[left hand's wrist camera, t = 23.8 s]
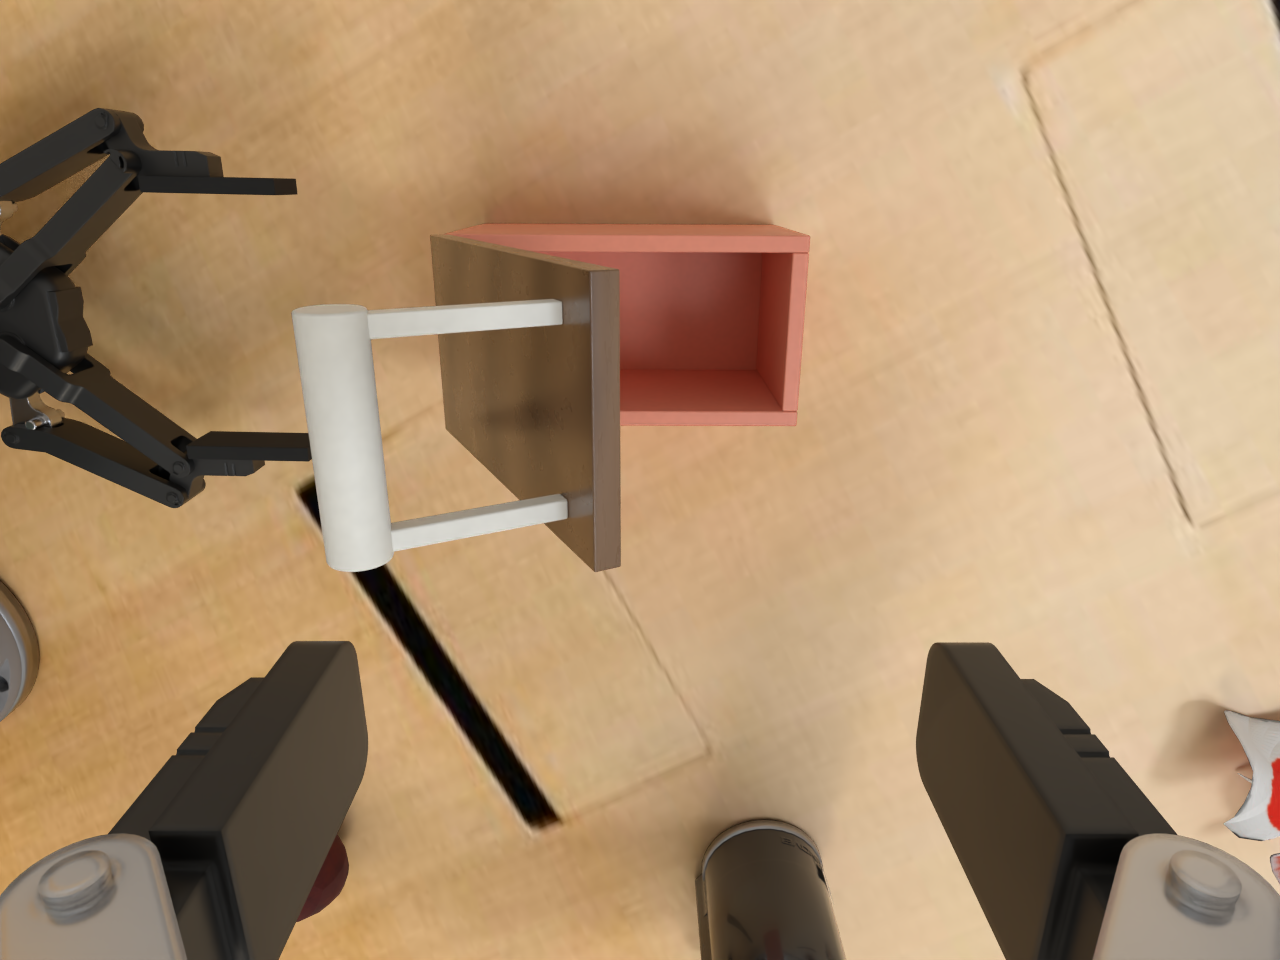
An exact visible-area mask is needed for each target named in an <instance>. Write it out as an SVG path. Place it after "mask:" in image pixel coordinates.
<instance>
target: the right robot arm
mask: <svg viewBox="0 0 1280 960" xmlns="http://www.w3.org/2000/svg"><path fill="white" fill-rule="evenodd" d="M143 131H144V124H143V122H142V120H141V119H140V117H139V116H138V115H136V114H134V113H130V112H125V111H118V110H110V109H102V108H97V109H94V110H92V111H90V112H88V113H87V114H85V115H83V116H82V117H80V118H78V119H76V120H75V121H73V122H71V123H70V124H68V125H66V126H64V127H63V128H61V129H59V130H58V131H56V132H54V133H52V134H51V135H49V136H47V137H46V138H44V139H42V140H40V141H39V142H37V143H35V144H34V145H32V146H30V147H28V148H27V149H25V150H23V151H21V152H20V153H18V154H16V155H15V156H13V157H11V158H9V159H8V160H6V161H4V162H3V163H1V164H0V393H1V394H3V395H5V396H7V397H9V399H10V406H11V414H12V421H13V425H12V426H9V427H7V428H5V429H3V431H2V432H1V438H2V440H3V442H4V443H5V444H6V445H7V446H9V447H11V448H15V449H23V450H31V451H39V452H46V453H48V454H51V455H53V456H55V457H57V458H60V459H62V460H64V461H66V462H69V463H71V464H73V465H76V466H78V467H80V468H82V469H85V470H87V471H89V472H91V473H94V474H96V475H98V476H100V477H103V478H105V479H107V480H110V481H112V482H114V483H116V484H119V485H121V486H123V487H125V488H128V489H130V490H132V491H134V492H137V493H139V494H141V495H144V496H146V497H148V498H150V499H153V500H155V501H157V502H159V503H162V504H164V505H166V506H168V507H172V508H178V507H180V506H182V505H183V504H185V503H186V502H187V501H189V500H190V499H192V498H193V497H195V496H196V495H197V494H199V493H200V492H202V491H203V490H204V488H205V481H204V479H203V478H204V475H215V476H227V475H228V476H247V475H250V474H252V473H254V472H256V471H257V470H258V469H260V468H261V467H262V466H264V465H265V461H264V460H267V461H310V460H311V459H312V455H311V447H310V440H309V433H271V432H220V431H211V432H209V433H207V434H205V435H204V436H202V437H200V438H198V439H196V438H195V437H193V436H192V435H191V434H189V433H188V432H186V431H185V430H184V429H182V428H181V427H180V426H178V425H177V424H175V423H174V422H173V421H171V420H170V419H169V418H167V417H166V416H164V415H163V414H162V413H160V412H159V411H158V410H156V409H155V408H153V407H152V406H151V405H149V404H148V403H146V402H145V401H144V400H142V399H141V398H140V397H138V396H137V395H135V394H134V393H133V392H131V391H130V390H129V389H127V388H126V387H124V386H123V385H122V384H120V383H119V382H118V381H116V380H115V379H113V378H112V377H111V376H110V371H109V369H108V368H106V367H105V366H104V365H102V364H101V363H100V362H98V361H97V360H95V359H94V358H93V357H91V356H90V355H89V354H87V350H88V346H91V345H93V344H92V339H91V335H90V331H89V328H88V326H87V324H86V322H85V320H84V318H83V302H84V301H83V297H82V292H81V287H75V285H74V284H73V282H72V280H71V279H70V278H69V277H68V275H69V274H70V273H71V272H72V271H73V270H74V269H75V268H76V267H77V266H78V265H79V264H80V263H81V261H82V260H83V259H84V258H85V257H86V254H85V252H86V251H87V250H88V249H89V248H90V247H91V246H92V245H93V244H94V242H95V241H96V240H97V239H98V238H99V237H100V236H101V235H102V234H103V233H104V232H105V231H106V230H107V229H108V228H109V227H110V226H111V225H112V224H113V223H114V222H115V221H116V220H117V219H118V218H119V217H120V215H121V214H122V213H123V212H124V211H125V210H126V209H127V208H128V207H129V206H130V205H131V204H132V203H133V202H134V201H135V200H136V199H137V198H138V197H139V196H140V195H141V194H142V193H143V192H155V193H201V194H247V195H293V194H297V187H296V179H280V178H235V177H223V170H222V163H221V157H220V156H217V155H215V154H213V153H210V152H197V151H159V150H156V149H154V148H153V147H152V146H151V145H150V144H149V143H148V142H147V140H146V138H145V136H144V134H143ZM109 154H110V156H109V157H108V158H107V159H106V160H105V162H104V163H103V164H102V165H101V166H100V167H99V168H98V169H97V170H96V171H95V172H94V173H93V174H92V175H91V177H90V178H89V179H88V180H87V181H86V182H85V183H84V184H83V185H82V186H81V187H80V188H79V189H78V190H77V191H76V193H75V194H74V195H73V196H72V197H71V198H70V199H69V200H68V201H67V202H66V203H65V204H64V205H63V206H62V207H61V209H60V210H59V211H58V212H57V213H56V214H55V215H54V216H53V217H52V218H51V219H50V220H49V221H48V222H47V224H46V225H45V226H44V227H43V228H42V229H41V230H40V231H39V232H38V233H37V234H36V235H35V236H34V237H32V238H31V239H28V240H26V241H24V242H23V243H22V244H20V243H18V242H17V241H15V240H13V239H12V238H10V237H8V236H6V235H3V234H1V224H2V222H3V221H4V220H6V219H8V218H10V217H11V216H12V215H13V213H14V212H16V211H17V209H18V208H17V205H16V203H15V202H18V201H23V200H27V199H30V198H32V197H34V196H36V195H39V194H40V193H42V192H44V191H46V190H47V189H49V188H51V187H53V186H54V185H56V184H58V183H60V182H61V181H63V180H65V179H67V178H68V177H70V176H72V175H74V174H75V173H77V172H79V171H81V170H82V169H84V168H86V167H88V166H89V165H91V164H93V163H95V162H96V161H98V160H100V159H102V158H103V157H105V156H107V155H109ZM69 371H71V372H72V373H74V374H71V375H68V374H66V373H68V372H69ZM44 391H45V392H47V393H48V394H49V395H51V396H52V397H54V398H55V399H57V400H59V401H62V402H67V403H71V404H73V405H75V406H76V407H78V408H79V409H80V410H82V411H83V412H85V413H86V414H87V415H89V416H90V417H92V418H93V419H95V420H96V421H97V422H99V423H100V424H102V425H103V426H104V427H106V428H107V429H109V430H110V431H111V432H113V433H114V434H116V435H117V436H119V437H120V438H121V439H123V440H124V441H123V440H121V439H119V438H116V437H114V436H112V435H110V434H107V433H105V432H103V431H101V430H99V429H96V428H94V427H92V426H90V425H87V424H85V423H82V422H79V421H76V420H72V419H67V418H64V417H65V414H64V412H63V411H62V410H60V409H56V410H55V409H54V408H51V407H48V406H47V405H45V404H44V403H43V402H42V400H41V399H40V395H39V394H40V393H42V392H44ZM125 441H126V442H125ZM38 669H39V649H38V643H37V639H36V635H35V632H34V629H33V627H32V624H31V622H30V620H29V618H28V616H27V614H26V612H25V611H24V609H23V608H22V606H21V604H20V603H19V602H18V600H17V599H16V598H15V596H14V595H13V594H12V593H11V592H10V591H9V589H8V588H7V587H6V586H5V585H4V584H3V583H2V582H1V581H0V721H2V720H3V719H4V718H5V717H6V716H8V715H9V714H10V713H11V712H12V711H13V710H15V709H16V708H17V707H18V706H19V705H20V704H21V703H22V702H23V701H24V700H25V699H26V698H27V696H28V695H29V693H30V692H31V690H32V688H33V686H34V684H35V681H36V678H37V674H38Z"/></svg>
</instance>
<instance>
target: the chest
mask: <svg viewBox="0 0 1280 960" xmlns="http://www.w3.org/2000/svg"><path fill="white" fill-rule="evenodd" d="M443 235H454V236H459V237H464V238H469V239H473V240H478V241H483V242H488V243H493V244H498V245H503V246H508V247H513V248H517V249H522V250H527V251H532V252H537V253H542V254H547V255H552V256H556V257H561V258H566V259H571V260H576V261H581V262H586V263H591V264H596V265H600V266H605V267H610V268H615V269H619V291H620V425H656V426H796V423H797V410H798V396H799V383H800V369H801V355H802V342H803V328H804V314H805V300H806V287H807V273H808V259H809V254H808V252H809V246H810V236H809V235H805V234H802V233H799V232H796V231H792V230H789V229H786V228H783V227H779V226H776V225H706V224H481V225H477V226H473V227H469V228H465V229H462V230H458V231H454V232H450V233H446V234H443Z"/></svg>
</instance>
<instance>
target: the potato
mask: <svg viewBox="0 0 1280 960" xmlns="http://www.w3.org/2000/svg"><path fill="white" fill-rule="evenodd" d="M348 870H349V863H348V858H347V854H346V849H345V846H344V845H343V843H342V841H341V840H340V838H339V836H338V835H336V837H335V839H334V841H333V843H332V846H331V848H330V850H329V852H328V854H327V856H326V859H325V861H324V863H323V865H322V867H321V869H320V871H319V874H318V876H317V878H316V880H315V882H314V884H313V886H312V889H311V891H310V893H309V895H308V897H307V899H306V901H305V904H304V906H303V908H302V910H301V912H300V914H299V917H298V919H297V921H296V922H299V921H301V920H303V919H305V918H308V917H310V916H312V915H314V914H316V913H318V912H320V911H321V910H322V909H324V908H325V907H326V906H327V905H329V904H330V903H331V902H332V901H333V900H334V899H335V898H336V897H337V896H338V895H339V894H340V892H341V890H342V888H343V887H344V885H345V881H346V878H347V875H348Z"/></svg>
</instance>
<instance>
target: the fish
mask: <svg viewBox="0 0 1280 960" xmlns="http://www.w3.org/2000/svg"><path fill="white" fill-rule="evenodd" d="M1224 713H1225V716H1226V718H1227V721H1228V723H1229V725H1230V726H1231V728H1232V730H1233V731H1234V733H1235V735H1236V736H1237V738H1238V739H1239V741H1240V743H1241V744H1242V746H1243V749H1244V751H1245V753H1246V755H1247V758H1248V760H1249V762H1250V765H1251V767H1252V770H1253V778H1252V780H1251V779H1249V778H1247V777H1245V776H1243V775H1241V774H1239V773H1237V774H1238V775H1240V776H1241V777H1243V778H1244V779H1246V780H1247V781H1249V782H1250V783H1252V786H1251V789H1250V791H1249V793H1248V796H1247V798H1246V800H1245V802H1244V804H1243V805H1242V807H1241V808H1240V809H1239V811H1238V812H1237V814H1236V815H1235V817H1233V818H1232V819H1230V820H1229V821H1227V822H1225V823H1224V825H1225V826H1226V827H1227V828H1229V829H1230V830H1231V831H1232V832H1233V833H1234V834H1235V835H1236V836H1238V837H1239V838H1244V839H1251V840H1258V841H1264V840H1269V839H1273V838H1276V837H1278V836H1280V721H1275V720H1267V719H1260V718H1252V717H1248V716H1245V715H1242V714H1239V713H1236V712H1232V711H1226V710H1225V711H1224ZM1270 862H1271V867H1272V871H1273V873H1274V875H1275V877H1276V878H1277V880H1278V882H1279V883H1280V853H1278V854H1274V855H1271V857H1270Z"/></svg>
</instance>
